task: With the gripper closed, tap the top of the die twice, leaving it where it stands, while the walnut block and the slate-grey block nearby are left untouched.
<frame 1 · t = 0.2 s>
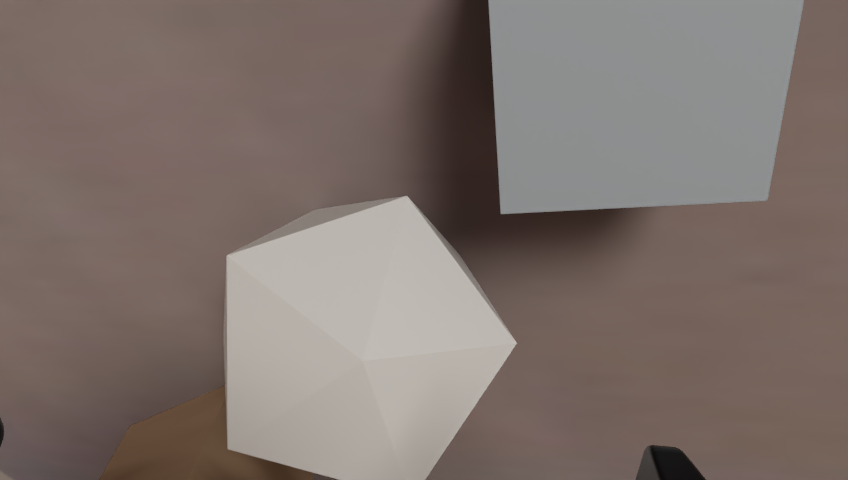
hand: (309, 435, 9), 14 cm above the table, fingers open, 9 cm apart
slate block: (600, 6, 19), on the table
walnut block: (223, 446, 31), on the table
die: (377, 262, 25), on the table
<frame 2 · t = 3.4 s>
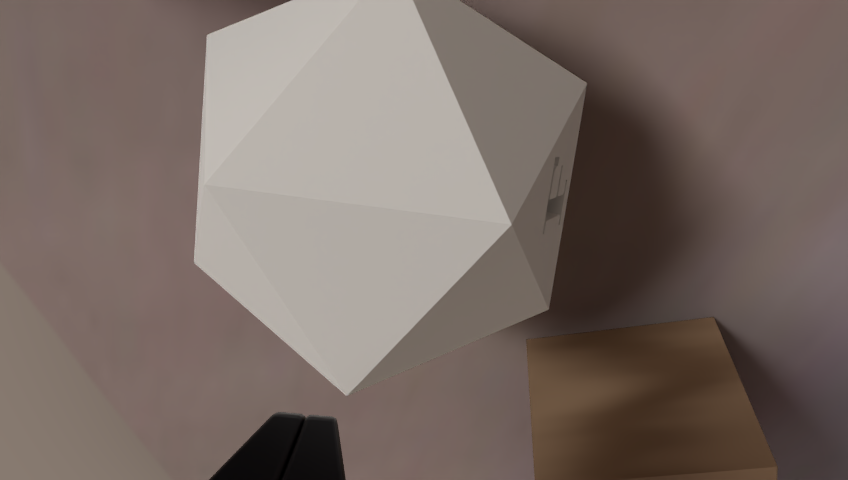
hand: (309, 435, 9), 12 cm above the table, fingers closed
walnut block: (624, 392, 24), on the table
die: (402, 108, 19), on the table
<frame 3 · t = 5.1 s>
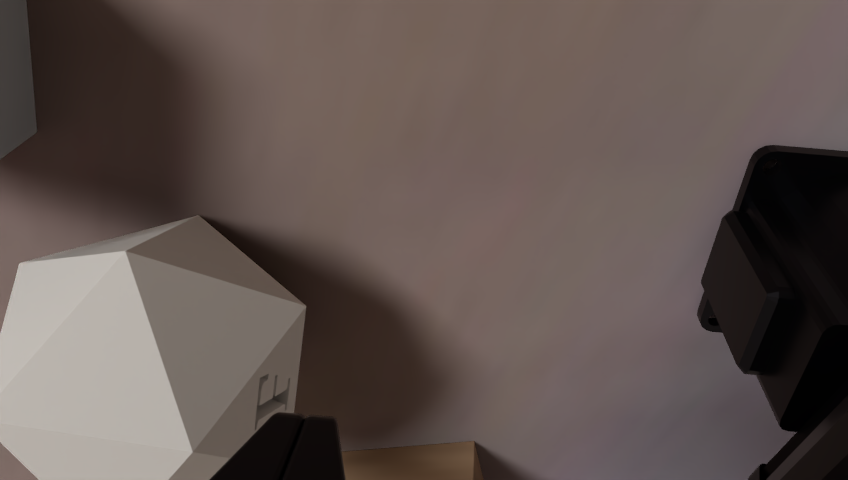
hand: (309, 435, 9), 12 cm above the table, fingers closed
die: (205, 285, 24), on the table
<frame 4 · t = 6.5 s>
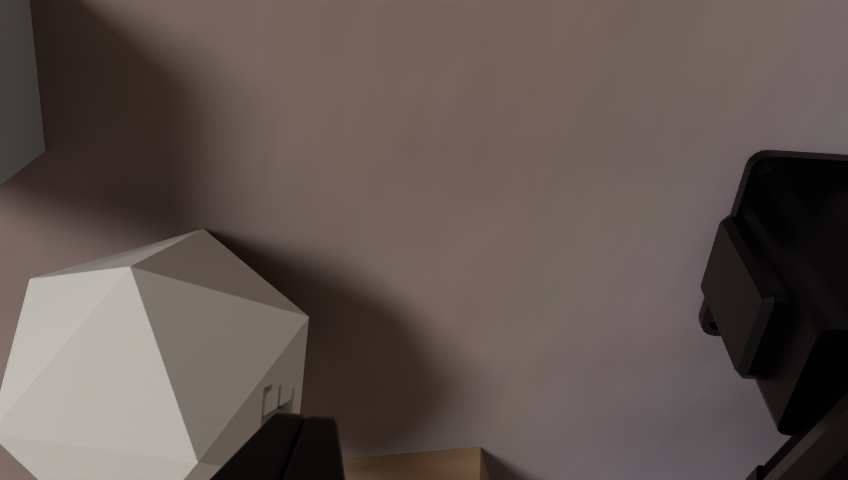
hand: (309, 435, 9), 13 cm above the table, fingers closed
die: (211, 297, 25), on the table
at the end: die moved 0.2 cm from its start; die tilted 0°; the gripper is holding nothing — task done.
